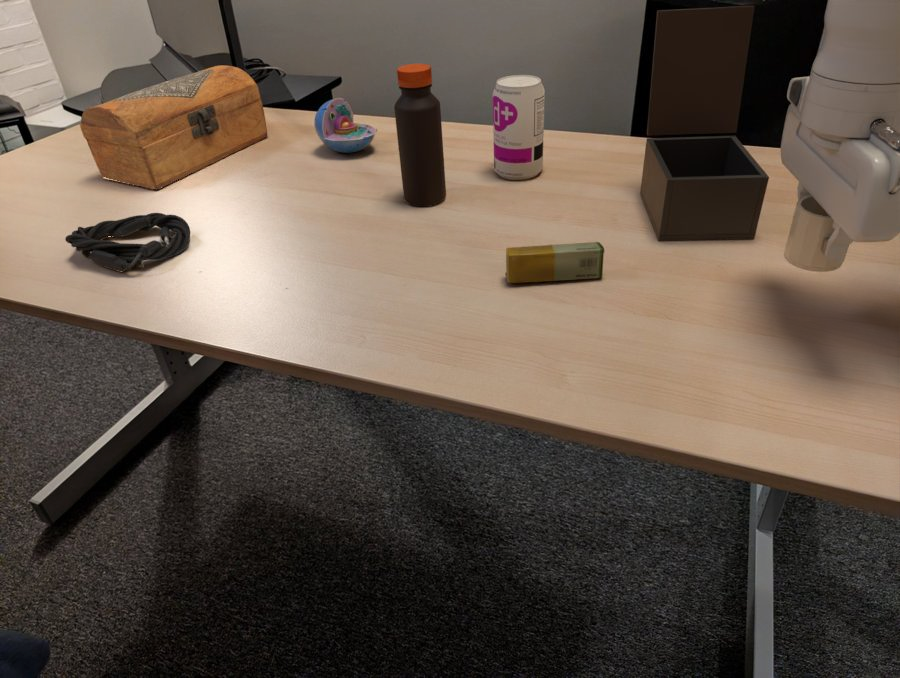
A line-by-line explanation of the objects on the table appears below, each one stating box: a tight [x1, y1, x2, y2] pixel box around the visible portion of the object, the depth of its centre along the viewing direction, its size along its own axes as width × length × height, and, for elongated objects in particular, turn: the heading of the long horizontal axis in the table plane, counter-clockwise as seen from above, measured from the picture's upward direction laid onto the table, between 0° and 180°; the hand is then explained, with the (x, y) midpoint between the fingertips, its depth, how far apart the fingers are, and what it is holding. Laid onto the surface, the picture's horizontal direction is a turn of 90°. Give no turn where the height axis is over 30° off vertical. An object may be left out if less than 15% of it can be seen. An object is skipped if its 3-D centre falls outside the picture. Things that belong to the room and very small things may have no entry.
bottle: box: [393, 63, 447, 207], centre depth 99 cm, size 7×7×20 cm
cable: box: [64, 212, 191, 272], centre depth 95 cm, size 17×14×4 cm
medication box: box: [504, 241, 605, 284], centre depth 81 cm, size 12×3×4 cm, turn 93°
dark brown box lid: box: [646, 5, 755, 136], centre depth 92 cm, size 16×13×1 cm
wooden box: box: [79, 64, 268, 191], centre depth 123 cm, size 30×16×14 cm, turn 150°
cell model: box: [313, 97, 378, 154], centre depth 122 cm, size 10×12×10 cm
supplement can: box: [492, 74, 546, 181], centre depth 107 cm, size 8×8×15 cm
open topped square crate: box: [639, 135, 770, 242], centre depth 92 cm, size 16×13×9 cm
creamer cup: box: [783, 195, 846, 273], centre depth 67 cm, size 6×6×6 cm
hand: (818, 239), depth 67 cm, fingers closed on creamer cup, 6 cm apart
